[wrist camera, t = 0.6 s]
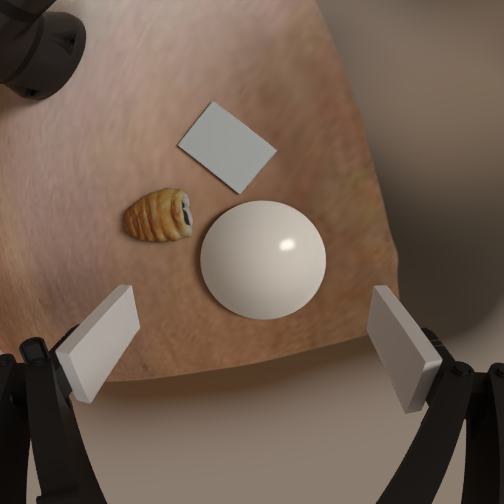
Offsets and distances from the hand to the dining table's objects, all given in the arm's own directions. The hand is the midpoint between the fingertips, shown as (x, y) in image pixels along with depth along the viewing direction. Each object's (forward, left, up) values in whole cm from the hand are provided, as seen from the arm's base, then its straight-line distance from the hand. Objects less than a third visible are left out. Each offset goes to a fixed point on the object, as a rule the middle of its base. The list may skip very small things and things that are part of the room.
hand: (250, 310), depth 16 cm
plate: (+4, -3, -23) cm, 24 cm away
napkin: (-10, +3, -23) cm, 25 cm away
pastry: (-9, -9, -24) cm, 27 cm away
